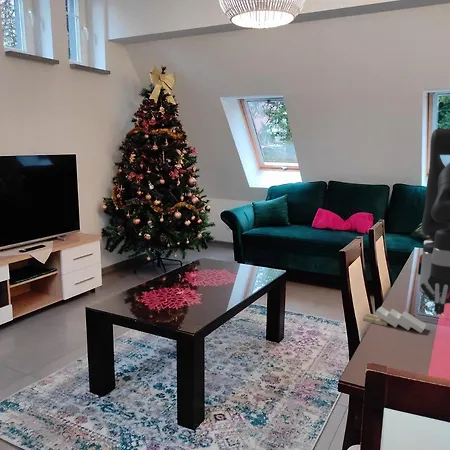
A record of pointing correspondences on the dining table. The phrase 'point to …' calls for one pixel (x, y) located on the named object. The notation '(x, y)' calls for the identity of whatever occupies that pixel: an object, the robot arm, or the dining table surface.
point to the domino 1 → (374, 319)
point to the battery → (420, 264)
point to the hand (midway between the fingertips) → (438, 313)
